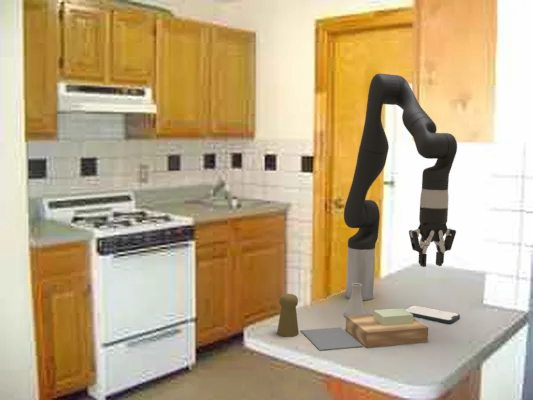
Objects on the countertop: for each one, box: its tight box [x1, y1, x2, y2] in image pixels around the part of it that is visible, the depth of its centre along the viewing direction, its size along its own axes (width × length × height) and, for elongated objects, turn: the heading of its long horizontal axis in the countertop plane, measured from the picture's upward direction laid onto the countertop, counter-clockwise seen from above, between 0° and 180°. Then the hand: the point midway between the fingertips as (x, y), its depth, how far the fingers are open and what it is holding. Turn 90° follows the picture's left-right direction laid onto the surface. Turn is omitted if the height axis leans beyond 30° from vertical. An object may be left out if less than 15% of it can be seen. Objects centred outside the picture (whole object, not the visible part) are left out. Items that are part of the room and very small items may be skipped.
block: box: [372, 307, 414, 326], centre depth 164 cm, size 6×9×2 cm, turn 106°
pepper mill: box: [277, 293, 300, 338], centre depth 164 cm, size 6×6×11 cm
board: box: [345, 313, 429, 348], centre depth 164 cm, size 14×18×4 cm
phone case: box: [403, 305, 461, 325], centre depth 183 cm, size 9×2×16 cm
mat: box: [300, 326, 364, 352], centre depth 161 cm, size 15×12×1 cm
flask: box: [343, 283, 368, 318], centre depth 181 cm, size 7×7×10 cm
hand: (430, 265), depth 165 cm, fingers open, 4 cm apart
